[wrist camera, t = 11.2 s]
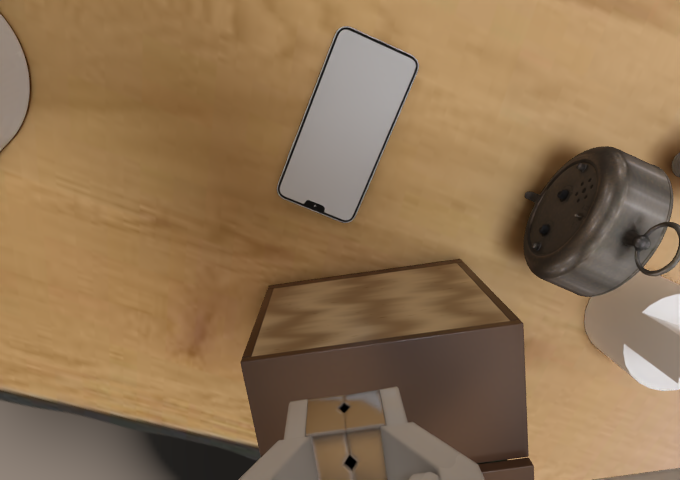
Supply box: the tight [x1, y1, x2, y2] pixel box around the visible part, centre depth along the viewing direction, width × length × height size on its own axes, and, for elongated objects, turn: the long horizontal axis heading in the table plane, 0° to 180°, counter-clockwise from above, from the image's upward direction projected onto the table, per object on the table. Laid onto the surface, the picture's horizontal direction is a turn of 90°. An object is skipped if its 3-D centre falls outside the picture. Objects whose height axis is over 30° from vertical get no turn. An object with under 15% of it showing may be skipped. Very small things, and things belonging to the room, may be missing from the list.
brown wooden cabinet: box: [241, 259, 534, 480], centre depth 36 cm, size 18×12×15 cm, turn 98°
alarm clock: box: [524, 147, 680, 297], centre depth 33 cm, size 11×5×16 cm, turn 157°
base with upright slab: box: [584, 271, 680, 391], centre depth 38 cm, size 9×9×12 cm
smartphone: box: [277, 26, 419, 223], centre depth 38 cm, size 7×1×15 cm
